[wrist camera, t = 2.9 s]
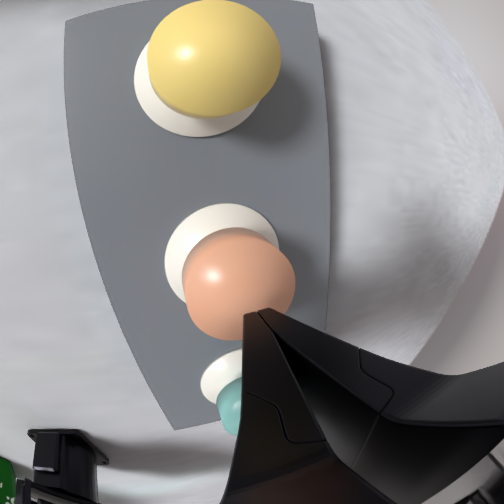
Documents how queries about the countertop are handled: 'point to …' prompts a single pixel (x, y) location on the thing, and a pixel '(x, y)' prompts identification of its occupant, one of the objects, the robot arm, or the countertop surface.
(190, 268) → the terracotta button
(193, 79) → the mustard button
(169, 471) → the countertop surface
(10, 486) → the milk carton
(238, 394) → the teal button
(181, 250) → the button console
